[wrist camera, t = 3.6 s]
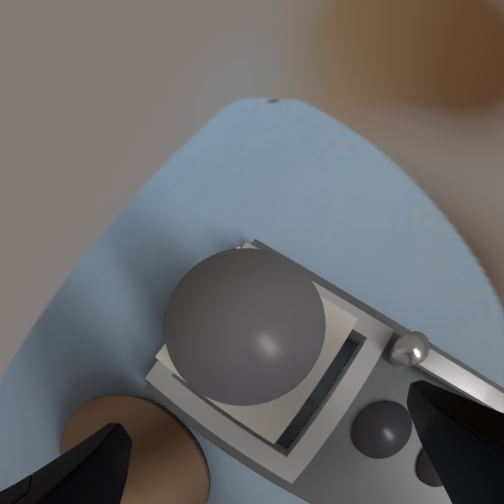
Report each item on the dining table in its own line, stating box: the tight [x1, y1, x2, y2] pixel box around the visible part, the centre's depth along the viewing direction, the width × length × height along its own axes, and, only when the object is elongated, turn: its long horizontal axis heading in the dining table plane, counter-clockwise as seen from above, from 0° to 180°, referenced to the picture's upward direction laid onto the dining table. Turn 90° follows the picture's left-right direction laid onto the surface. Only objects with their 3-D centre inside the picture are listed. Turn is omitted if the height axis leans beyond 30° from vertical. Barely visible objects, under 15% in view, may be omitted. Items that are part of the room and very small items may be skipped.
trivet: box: [61, 395, 210, 504], centre depth 17 cm, size 11×11×1 cm
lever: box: [387, 331, 504, 413], centre depth 16 cm, size 10×2×4 cm, turn 55°
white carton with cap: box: [156, 246, 358, 444], centre depth 14 cm, size 5×5×13 cm
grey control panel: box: [144, 239, 504, 504], centre depth 17 cm, size 21×12×3 cm, turn 55°
